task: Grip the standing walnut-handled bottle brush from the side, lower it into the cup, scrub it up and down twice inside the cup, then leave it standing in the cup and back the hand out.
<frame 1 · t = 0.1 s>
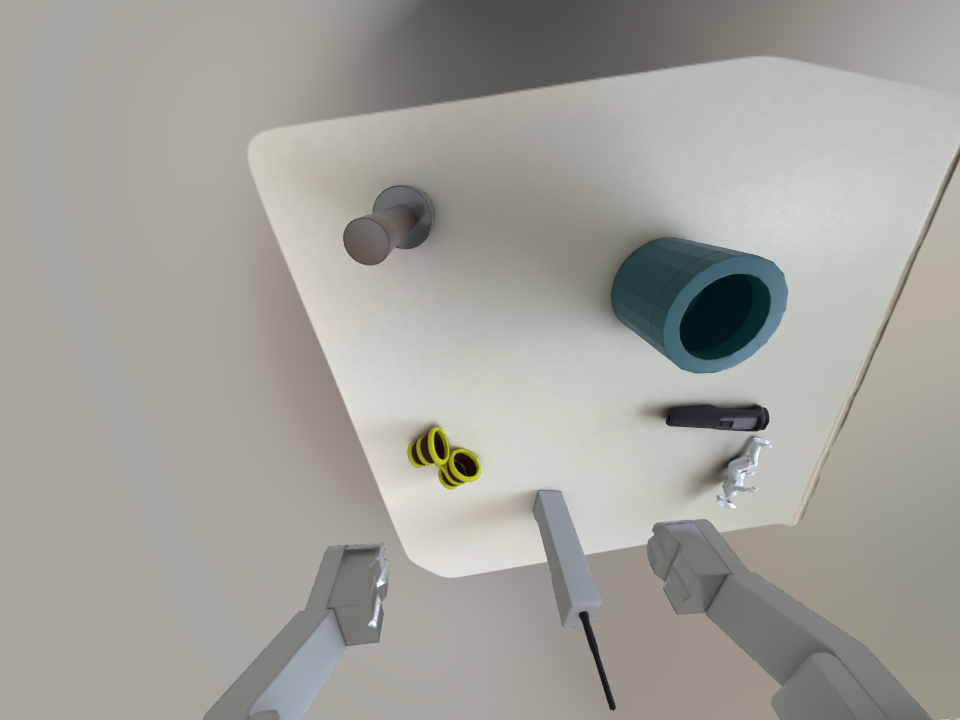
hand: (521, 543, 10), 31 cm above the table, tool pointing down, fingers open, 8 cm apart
cup: (657, 286, 40), on the table
electric trimmer: (710, 413, 49), on the table
soldier figure: (731, 461, 54), on the table
brush: (410, 213, 34), on the table
opera glasses: (444, 448, 48), on the table
vintage mobile phone: (545, 499, 55), on the table
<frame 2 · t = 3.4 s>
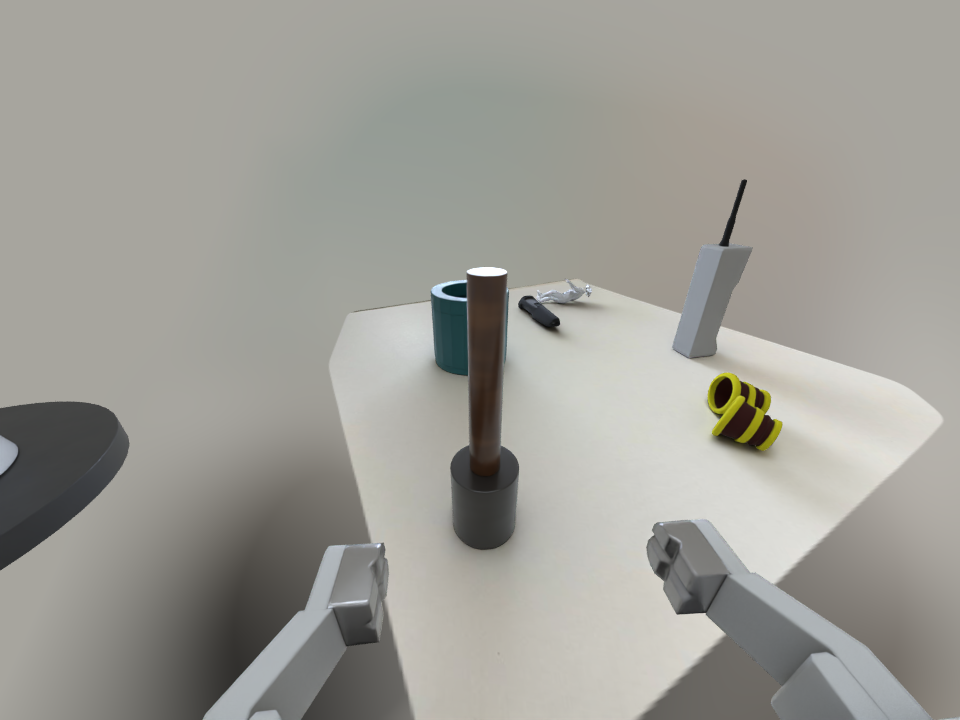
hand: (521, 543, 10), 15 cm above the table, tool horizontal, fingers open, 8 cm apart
cup: (470, 358, 53), on the table
electric trimmer: (538, 318, 70), on the table
soldier figure: (562, 303, 79), on the table
brush: (484, 520, 27), on the table
opera glasses: (733, 427, 38), on the table
vintage mobile phone: (692, 353, 55), on the table
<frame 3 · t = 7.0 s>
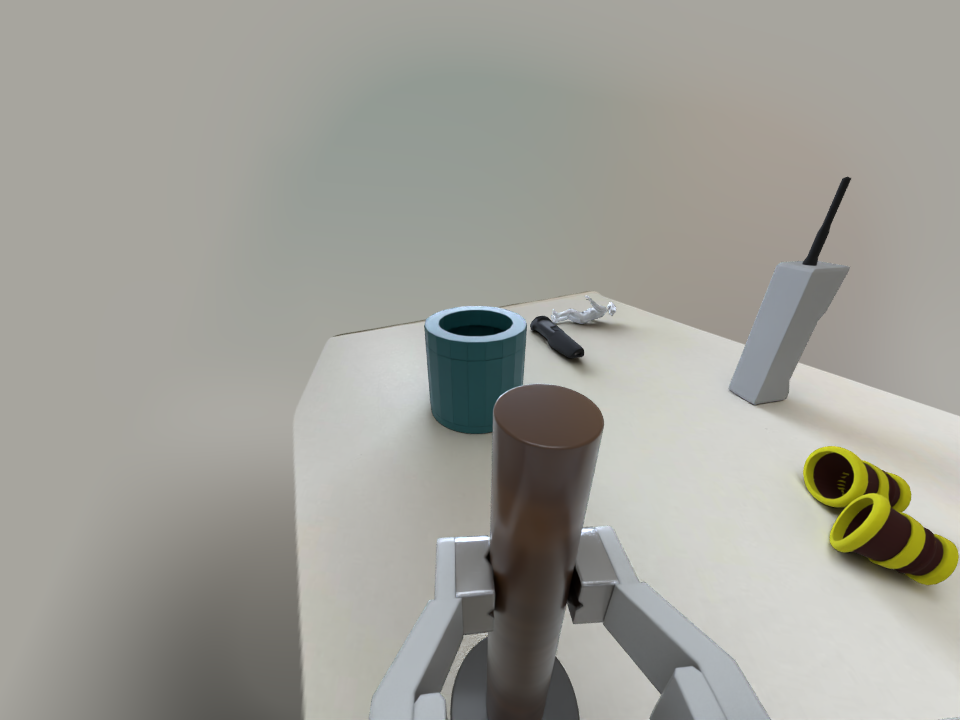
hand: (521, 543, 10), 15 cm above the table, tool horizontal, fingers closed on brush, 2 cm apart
cup: (476, 405, 42), on the table
electric trimmer: (555, 344, 58), on the table
soldier figure: (580, 324, 67), on the table
opera glasses: (854, 528, 27), on the table
vintage mobile phone: (755, 396, 44), on the table
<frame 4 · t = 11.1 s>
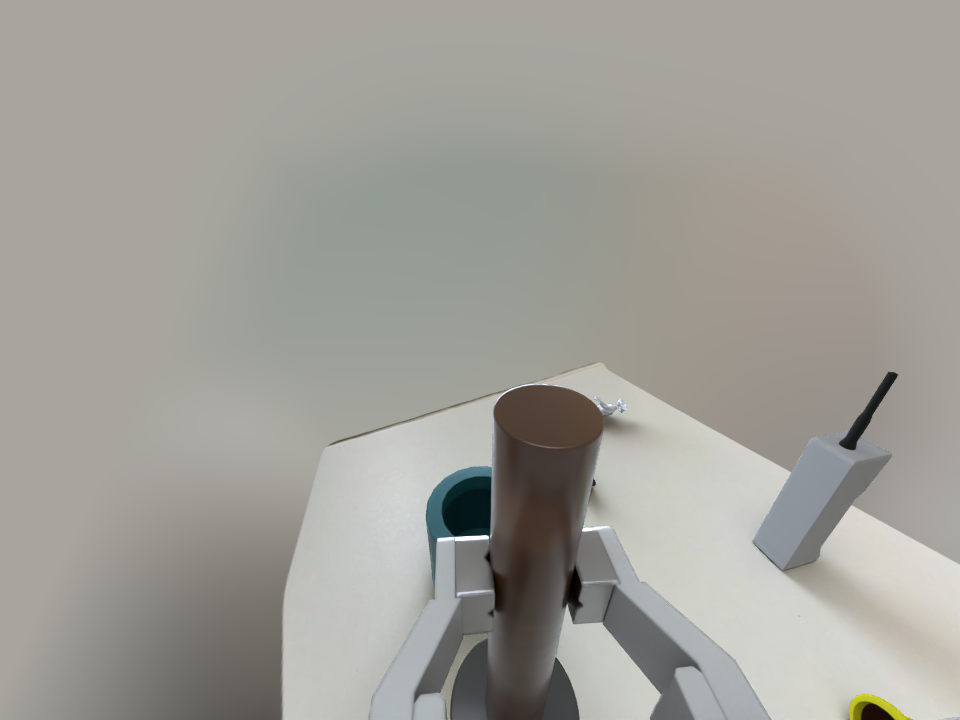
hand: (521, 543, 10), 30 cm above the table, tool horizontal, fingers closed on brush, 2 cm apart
cup: (481, 573, 39), on the table
soldier figure: (588, 420, 64), on the table
vintage mobile phone: (781, 553, 41), on the table
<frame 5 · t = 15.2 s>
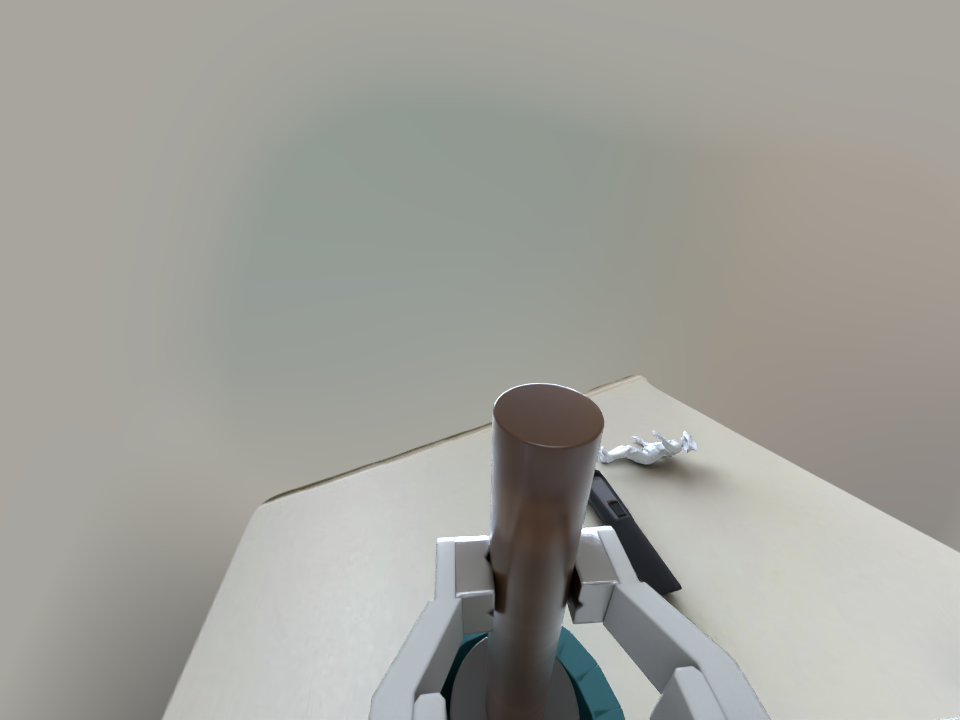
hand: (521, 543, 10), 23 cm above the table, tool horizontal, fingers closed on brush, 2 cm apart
electric trimmer: (615, 528, 37), on the table
soldier figure: (640, 462, 45), on the table
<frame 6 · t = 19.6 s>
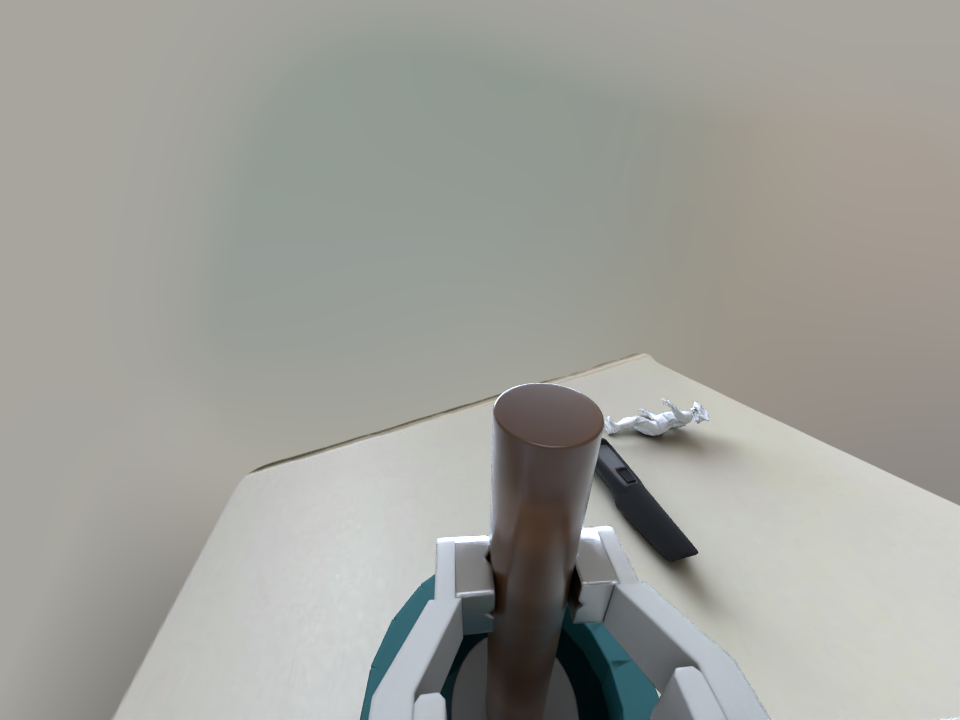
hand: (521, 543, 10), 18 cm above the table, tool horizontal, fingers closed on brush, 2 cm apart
electric trimmer: (623, 497, 34), on the table
soldier figure: (648, 434, 43), on the table
when the fingers open (15 cm above the table, at t = 23.9 s): brush stays where it is, resting on cup.
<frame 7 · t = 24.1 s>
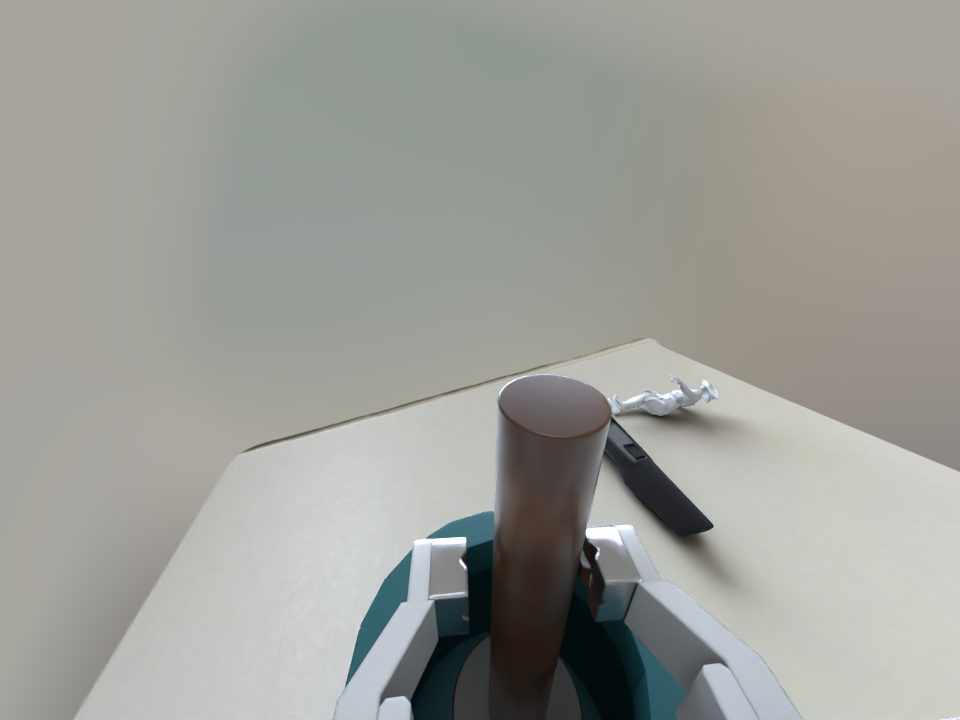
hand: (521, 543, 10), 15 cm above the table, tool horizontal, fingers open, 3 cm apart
electric trimmer: (631, 474, 33), on the table
soldier figure: (656, 414, 42), on the table
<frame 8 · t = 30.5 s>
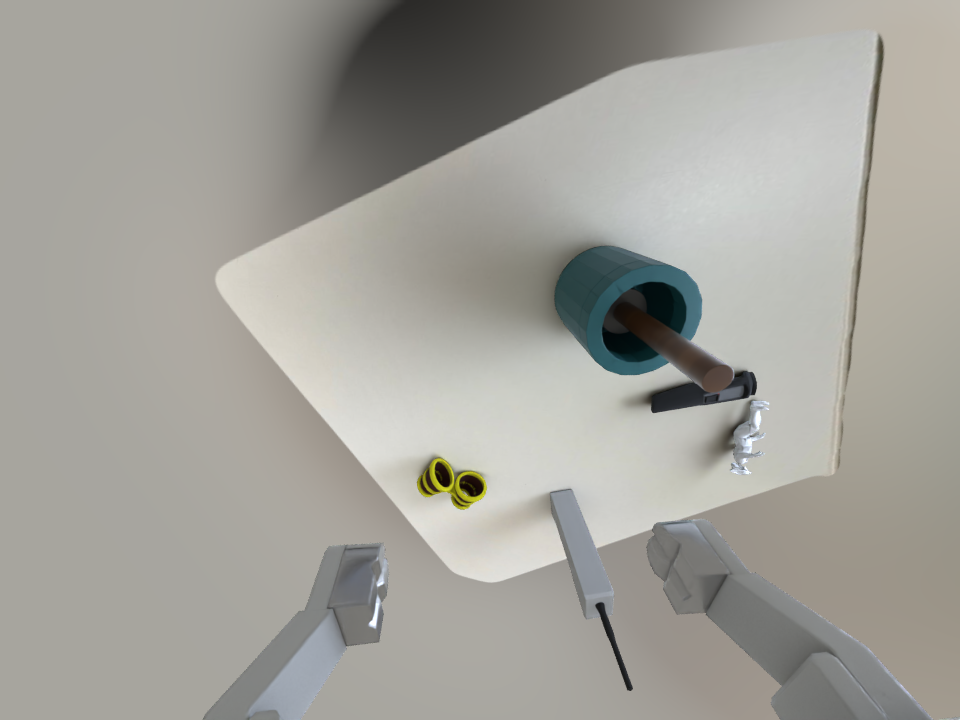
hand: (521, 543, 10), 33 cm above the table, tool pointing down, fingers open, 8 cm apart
cup: (598, 292, 42), on the table
electric trimmer: (696, 389, 50), on the table
soldier figure: (737, 428, 54), on the table
brush: (601, 295, 41), point 1 cm above the table, touching cup
opera glasses: (451, 473, 53), on the table
vintage mobile phone: (560, 499, 58), on the table
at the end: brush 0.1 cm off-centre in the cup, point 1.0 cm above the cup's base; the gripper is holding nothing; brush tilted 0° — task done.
